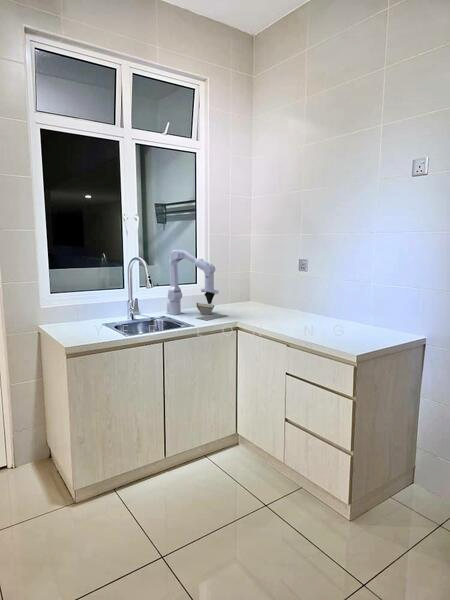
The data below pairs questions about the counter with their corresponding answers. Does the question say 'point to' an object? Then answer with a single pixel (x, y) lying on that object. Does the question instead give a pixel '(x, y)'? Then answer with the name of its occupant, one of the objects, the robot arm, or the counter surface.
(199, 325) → the counter surface
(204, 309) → the food container
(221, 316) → the mat
